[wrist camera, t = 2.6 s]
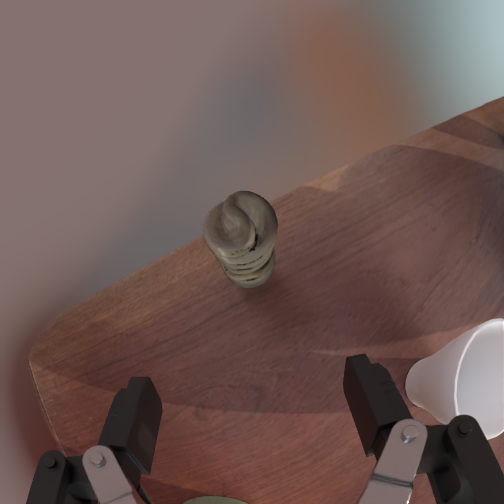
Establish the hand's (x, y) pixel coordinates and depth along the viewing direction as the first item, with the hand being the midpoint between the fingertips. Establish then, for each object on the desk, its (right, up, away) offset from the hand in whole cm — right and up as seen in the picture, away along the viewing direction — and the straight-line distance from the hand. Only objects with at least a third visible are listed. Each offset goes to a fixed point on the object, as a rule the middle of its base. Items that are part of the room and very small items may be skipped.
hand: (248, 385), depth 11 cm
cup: (+21, -10, +17) cm, 29 cm away
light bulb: (0, +2, +24) cm, 24 cm away
